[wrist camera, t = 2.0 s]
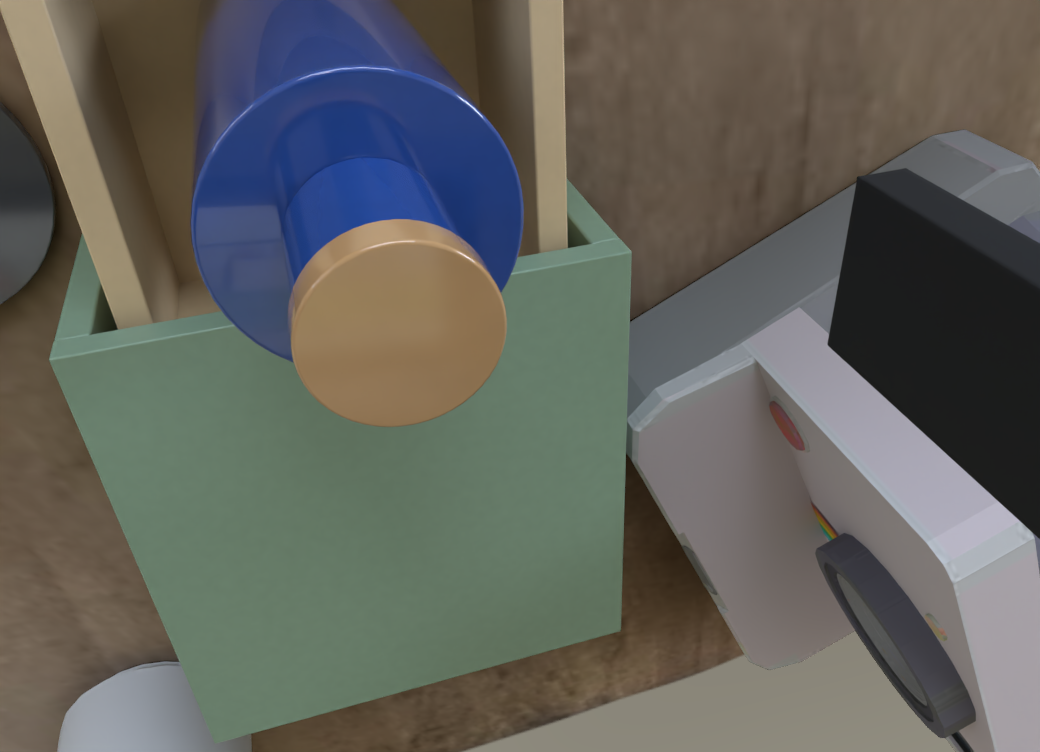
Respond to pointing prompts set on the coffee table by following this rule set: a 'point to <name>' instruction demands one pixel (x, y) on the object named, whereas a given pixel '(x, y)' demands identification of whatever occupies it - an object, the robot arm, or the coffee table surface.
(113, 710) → the can
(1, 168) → the coaster
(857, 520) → the grey stand
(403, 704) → the coffee table surface
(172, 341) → the cabinet
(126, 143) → the drawer
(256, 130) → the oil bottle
